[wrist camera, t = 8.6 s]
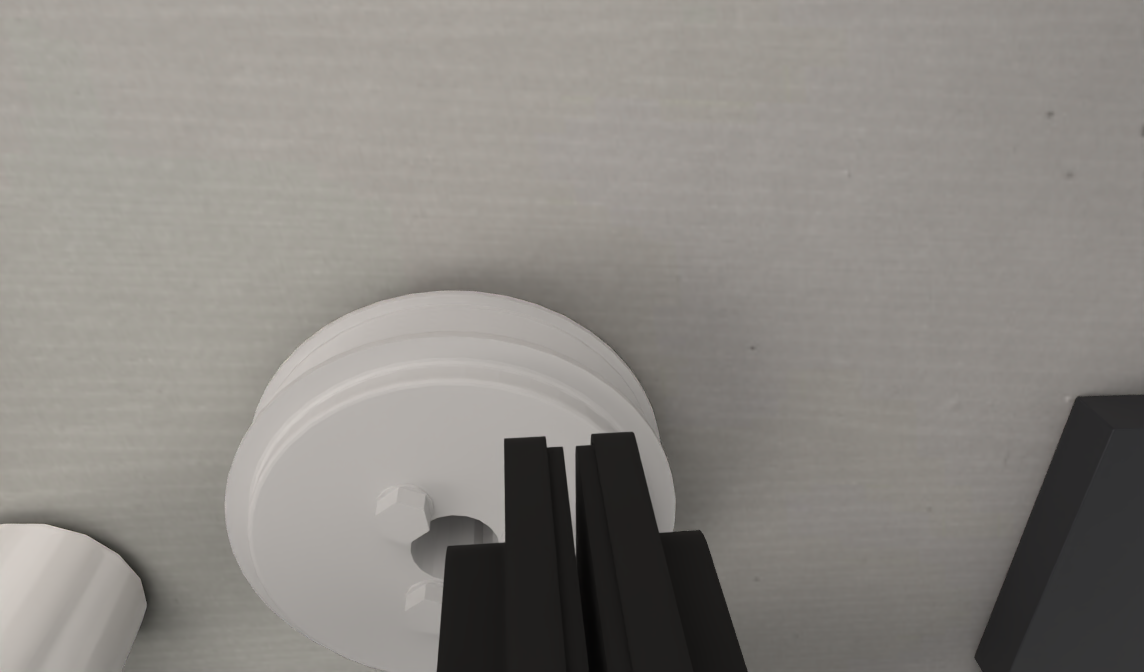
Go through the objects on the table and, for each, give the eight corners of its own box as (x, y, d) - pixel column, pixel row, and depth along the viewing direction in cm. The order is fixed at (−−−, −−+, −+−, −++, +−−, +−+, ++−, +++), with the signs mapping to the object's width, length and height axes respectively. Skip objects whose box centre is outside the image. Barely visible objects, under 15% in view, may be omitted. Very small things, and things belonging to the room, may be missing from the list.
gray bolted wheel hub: (726, 471, 27) (769, 582, 23) (441, 642, 30) (432, 769, 26) (488, 189, 22) (486, 266, 18) (169, 432, 25) (100, 549, 21)
